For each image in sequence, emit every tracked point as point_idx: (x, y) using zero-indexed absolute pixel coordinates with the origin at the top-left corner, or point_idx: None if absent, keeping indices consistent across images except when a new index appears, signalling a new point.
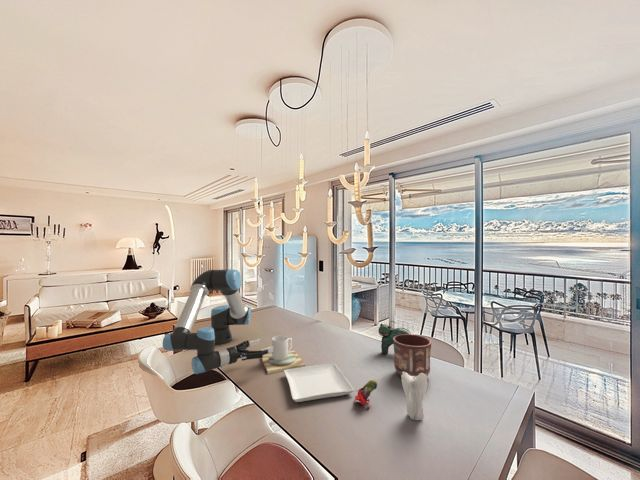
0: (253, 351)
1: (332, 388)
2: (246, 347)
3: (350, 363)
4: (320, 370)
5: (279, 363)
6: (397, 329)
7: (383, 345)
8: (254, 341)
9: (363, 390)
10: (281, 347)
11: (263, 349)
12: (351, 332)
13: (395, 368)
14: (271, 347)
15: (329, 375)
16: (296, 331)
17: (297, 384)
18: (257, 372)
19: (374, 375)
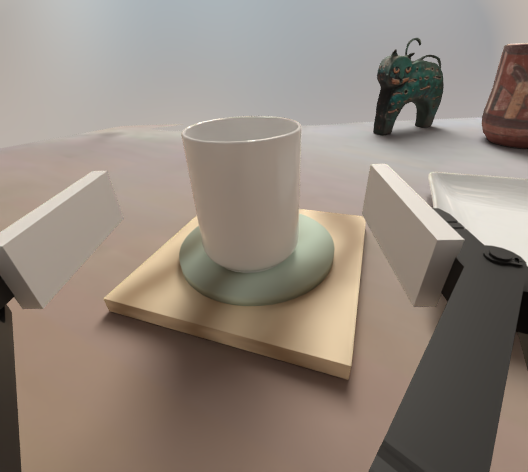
0: (493, 360)
1: None
2: (5, 350)
3: (404, 166)
4: (448, 208)
5: (312, 272)
6: (422, 60)
7: (391, 111)
8: (63, 211)
9: None
10: (297, 177)
11: (440, 221)
12: None
13: (522, 131)
14: (394, 174)
15: (489, 208)
16: (89, 163)
17: None
18: (271, 435)
19: (504, 164)
